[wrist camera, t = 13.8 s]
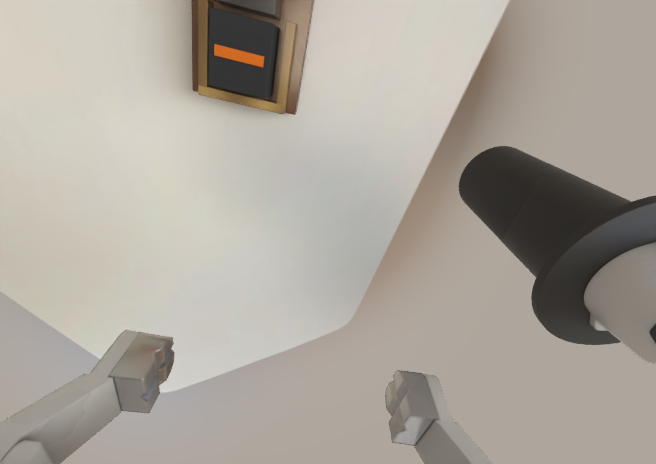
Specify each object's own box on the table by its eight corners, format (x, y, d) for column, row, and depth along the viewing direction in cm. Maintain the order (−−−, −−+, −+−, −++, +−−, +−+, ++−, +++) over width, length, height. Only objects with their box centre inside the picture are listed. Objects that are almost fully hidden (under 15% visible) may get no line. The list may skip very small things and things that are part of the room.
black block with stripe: (279, 27, 25) (273, 23, 23) (272, 95, 28) (265, 99, 25) (221, 12, 25) (208, 6, 22) (219, 82, 28) (207, 85, 25)
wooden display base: (322, -56, 23) (321, -76, 20) (296, 113, 30) (291, 120, 26) (195, -94, 22) (171, -122, 19) (196, 89, 29) (178, 93, 25)
